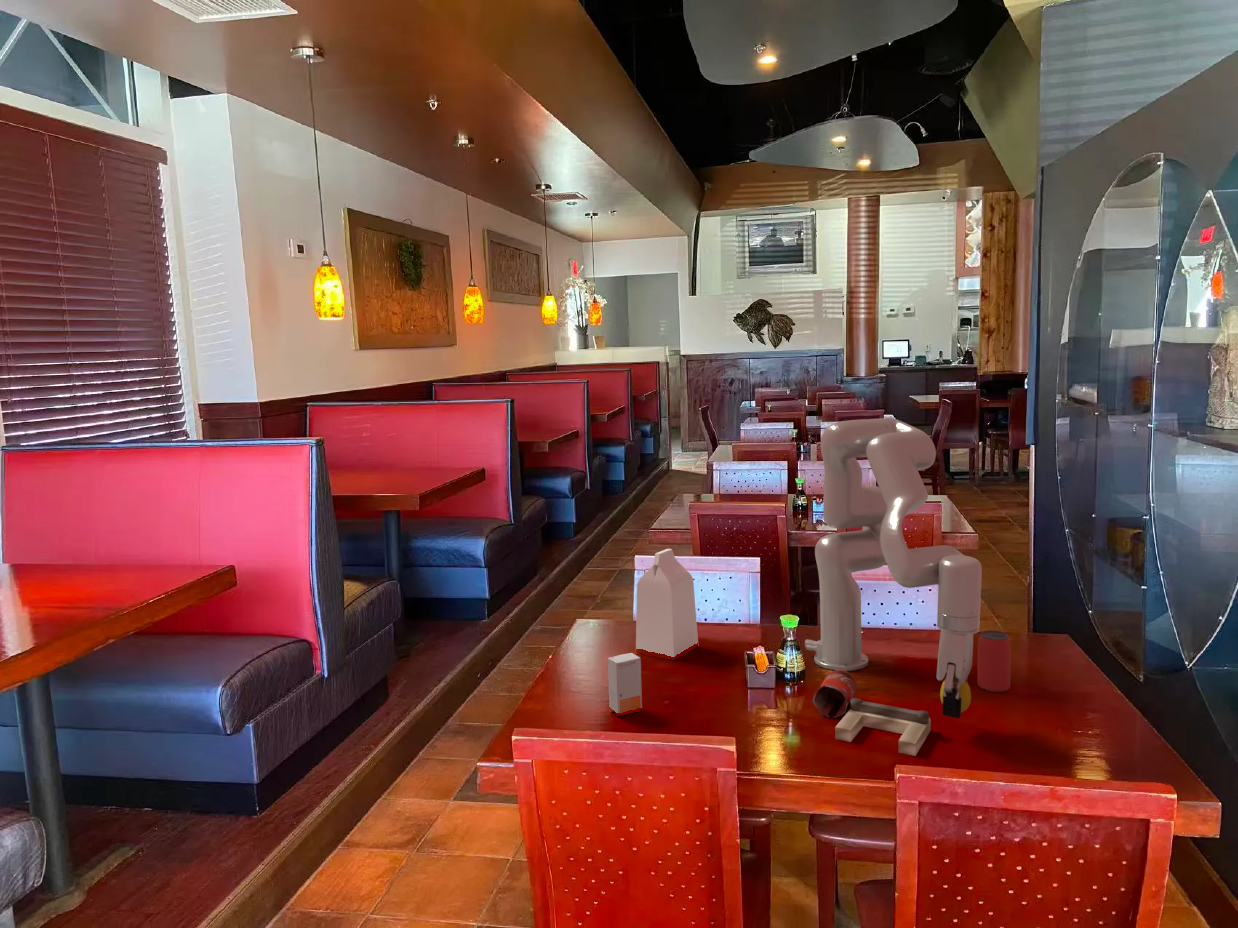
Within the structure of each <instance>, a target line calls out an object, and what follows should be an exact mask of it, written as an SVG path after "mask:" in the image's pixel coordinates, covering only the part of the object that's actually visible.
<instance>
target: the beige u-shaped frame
mask: <svg viewBox="0 0 1238 928" xmlns="http://www.w3.org/2000/svg"><path fill="white" fill-rule="evenodd" d="M929 713H930V712H928V711H926V710H914V709H913V710H912V709H908V708H901V707H898V706H894V705H893V706H892V705H886V704H883V703H882V704H881V703H875V702H870V701H864V700H862V699H861V698H858V697H857V698H856V697H852V699H851V701H850V709H849V710H848V711H847V712H846V713H845V715H843V717H842V719H841V720H840V721H839V722H838V723H837V725H836V726H835V727H834V731H835V733H834V735H835V736H834V738H835V740H839V741H844V742H848V743H851V742H852V741H853V740H854V739H855V737H856V736H857V735H858V734H859V732H860V731H861V730H862V728H863V727H866V728H872V729H876V730H882V731H884V732H885V731H887V732H891V733H895V734H902V735H900V738H899V739H898V753H899V754H904V755H908V756H913V757H916V756H917V754H918V752H919V750H920V749H921V748H922V746H923V744H924V742H925V741H926V739H927V738H928V736H929V734H930V732H931V728H932V727H931V726H932V725H931V722H932V721H931V718H930V714H929Z"/></svg>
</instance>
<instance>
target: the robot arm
mask: <svg viewBox="0 0 1238 928" xmlns="http://www.w3.org/2000/svg"><path fill="white" fill-rule="evenodd" d="M820 451H821V452H820V453H821V457H822V461H823V467H824V478H823V479H824V481H823V508H822V510H823V512H822V513H823V519H824V521H825V524H826V525H827V526H828V527H829V528H832V529H837V530H841V529H843V530H845V529H846V530H847V529H855V528H862V529H861V530H854V531H844V532H843V531H842V532H835V533H829V534H826V535H824V536H822V537H820V538H819V540H817V542H816V544H815V547H814V555H815V561H816V565H817V566H816V567H817V571H818V580H819V599H820V600H819V609H820V610H819V611H820V613H819V614H820V616H819V617H820V639H818V640H817V641H816V640H813V639H805V640H804V647H805V649H806V651H813V652H815V654H814V656H813V658H814V659H813V661H814V662H815V664H816V665H818V666H819V667H821V668H824V669H827V670H832V671H835V670H845V671H847V672H851V671H858V670H862V669H864V668H865V667H867V666H868V665H869V657H868V656H867V655H866V654H864V653H862V592H861V588H860V586H859V584H858V582H857V581H856V580H855V578H853V574H852V573H856V572H863V571H870V570H876V569H879V568H882V567H884V566H885V565H886V566H887V568H888V570H889V573H890V574H891V576H892V578H893V579H894V580H895V581H894V582H896V583H897V584H898V585H899V586H901V587H903V588H908V589H910V588H911V589H912V588H921V587H927V586H928V587H929V586H937V587H938V588H937V615H936V616H937V617H936V619H937V620H936V627H937V629H939V630H940V635H939V642H938V643H939V644H938V653H937V665H936V679H937V681H938V682H940V681H945V684H944V694H943V704H942V715H943V716H945V717H950V718H956V719H960V718H961V716H962V712H961V698H960V689H961V684H963V683H964V682H965V681H966V682H967V683H968V681H969V678H968V676H969V674H970V672H971V670H972V667H973V658H974V657H973V656H974V634H978V633H979V632H980V622H981V621H980V620H981V597H982V575H983V572H982V571H983V568H982V563H981V562H980V561H979V560H978V559H977V558H975V557H972V556H969V555H964V554H963V553H962V552H961V551H959V550H958V549H956V548H955V547H953V546H951V545H946V544H945V545H943V544H942V545H934V546H922V547H917V548H916V547H915V548H909V547H908V544H907V542H906V540H905V537H904V534H903V528H902V526H903V520H904V518H905V517H906V516H907V515H909V514H912V513H914V512H915V511H916V510H918V509H919V508H921V507H922V506H923V505H924V504H926V502H927V500H928V498H929V494H928V491H927V488H926V486H925V484H924V482H923V479H922V477H921V475H920V473H919V471H920V470H927V469H929V468H930V467H932V466H933V465H934V464H935V463H934V462H935V461H936V455H937V451H936V446H935V444H934V442H933V440H932V438H931V437H930V436H929V435H928V433H926V432H924V431H923V430H921V429H919V428H917V427H915V426H913V425H911V424H908V423H906V422H903V421H901V420H899V419H896V418H892V417H890V418H889V417H885V418H883V417H882V418H881V417H879V418H868V419H867V418H865V419H863V418H861V419H851V420H850V419H849V420H842V421H838V422H833V423H831V424H829V425H828V426H826V428H825V429H824V431H823V433H822V435H821V438H820ZM857 458H867V461H868V463H869V466H870V469H871V470H872V473H873V476H874V478H875V481H876V483H877V485H866V486H863V470H862V467H861V465H860V462H858V460H857ZM954 678H956V679H958V682H956V681H954ZM943 679H944V680H943ZM968 684H969V683H968ZM953 685H957V689H955V688H953Z"/></svg>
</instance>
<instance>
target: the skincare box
mask: <svg viewBox="0 0 1238 928" xmlns="http://www.w3.org/2000/svg"><path fill="white" fill-rule="evenodd" d="M607 677H608V678H607V679H608V680H607V681H608V704H609V707H610V708H611V709H612V710H614V711H615V712H616V713H623V712H626V711H629V710H635V709H637V708H642V709H643V700H642V699H643V696H642V694H643V693H642V661H641V657H640V656H639V655H636V653H633V652H629V653H623V654H622V653H621V654H619V655H618V654H617V655H614V656H610V657H607Z"/></svg>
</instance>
